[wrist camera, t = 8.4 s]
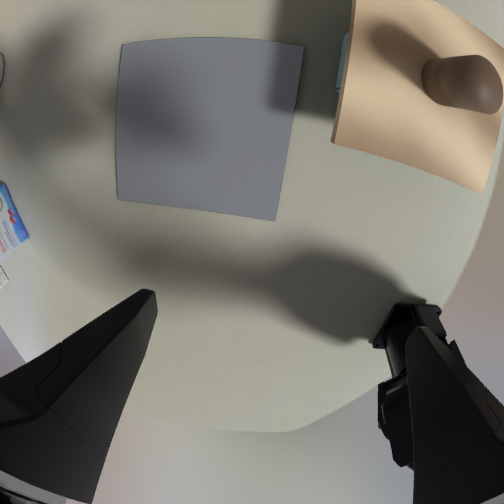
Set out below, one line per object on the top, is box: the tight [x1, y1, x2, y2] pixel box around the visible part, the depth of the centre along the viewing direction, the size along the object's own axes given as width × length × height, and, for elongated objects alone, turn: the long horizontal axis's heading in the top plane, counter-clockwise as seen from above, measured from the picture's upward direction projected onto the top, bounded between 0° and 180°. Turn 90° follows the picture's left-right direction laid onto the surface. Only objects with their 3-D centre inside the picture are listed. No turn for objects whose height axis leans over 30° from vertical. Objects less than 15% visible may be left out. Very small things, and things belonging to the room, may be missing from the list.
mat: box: [116, 37, 304, 221], centre depth 17 cm, size 13×13×1 cm
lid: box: [331, 0, 504, 195], centre depth 8 cm, size 11×11×5 cm
